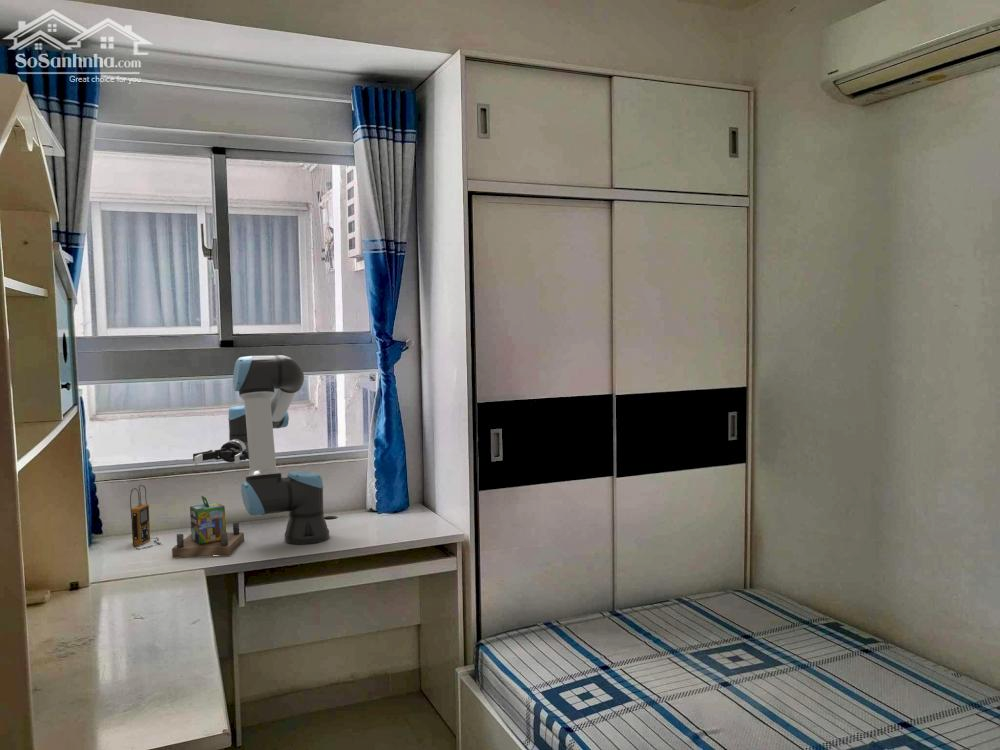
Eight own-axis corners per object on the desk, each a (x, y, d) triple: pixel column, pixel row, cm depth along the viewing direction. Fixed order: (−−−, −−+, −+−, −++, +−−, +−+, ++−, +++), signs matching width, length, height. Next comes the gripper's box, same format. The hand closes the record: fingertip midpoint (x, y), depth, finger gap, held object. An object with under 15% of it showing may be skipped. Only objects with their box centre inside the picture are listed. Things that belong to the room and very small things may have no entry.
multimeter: (156, 549, 259) (153, 490, 258) (127, 549, 260) (124, 490, 258) (175, 537, 274) (173, 481, 273) (147, 538, 274) (145, 482, 273)
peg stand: (244, 540, 268) (243, 520, 268) (229, 555, 250) (228, 534, 250) (191, 542, 267) (190, 522, 267) (172, 557, 249) (171, 536, 249)
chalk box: (227, 540, 258) (225, 496, 257) (198, 545, 252) (196, 500, 251) (218, 534, 265) (216, 492, 264) (190, 539, 260) (188, 495, 259)
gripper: (267, 459, 289) (252, 469, 268) (199, 461, 288) (179, 472, 267) (266, 439, 289) (252, 448, 268) (198, 441, 287) (178, 450, 266)
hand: (215, 460), depth 267 cm, fingers open, 13 cm apart
